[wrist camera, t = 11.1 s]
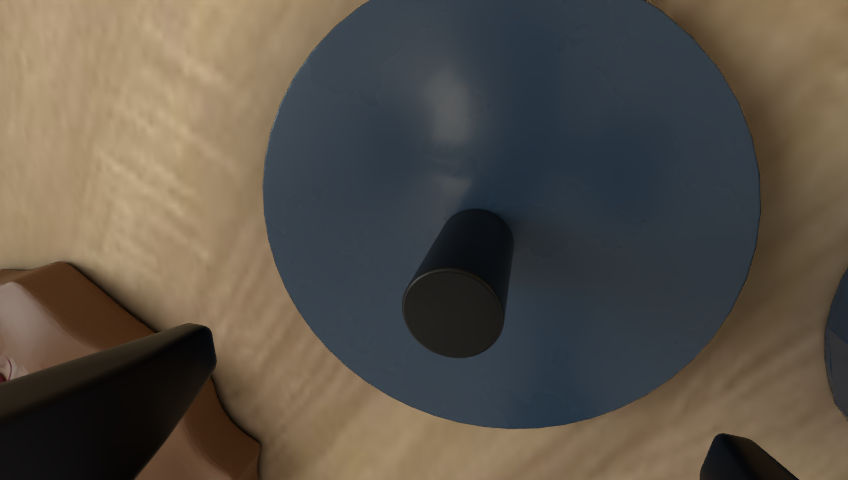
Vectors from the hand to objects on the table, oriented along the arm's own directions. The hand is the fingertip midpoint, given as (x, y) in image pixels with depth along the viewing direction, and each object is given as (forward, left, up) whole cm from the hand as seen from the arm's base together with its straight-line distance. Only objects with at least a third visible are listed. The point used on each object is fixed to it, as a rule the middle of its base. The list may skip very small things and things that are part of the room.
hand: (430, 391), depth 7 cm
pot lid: (0, 0, -7) cm, 7 cm away
